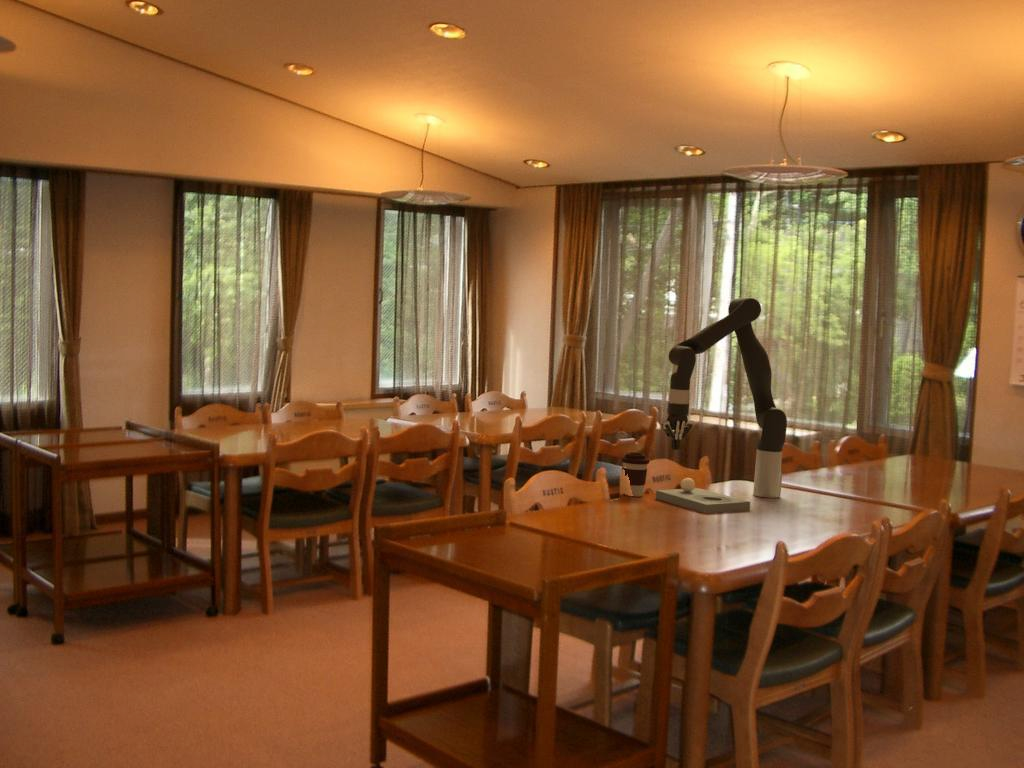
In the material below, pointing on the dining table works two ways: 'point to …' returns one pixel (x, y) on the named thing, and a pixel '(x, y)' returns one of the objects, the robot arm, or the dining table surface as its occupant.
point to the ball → (687, 484)
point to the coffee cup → (636, 471)
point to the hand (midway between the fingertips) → (675, 449)
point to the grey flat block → (703, 500)
